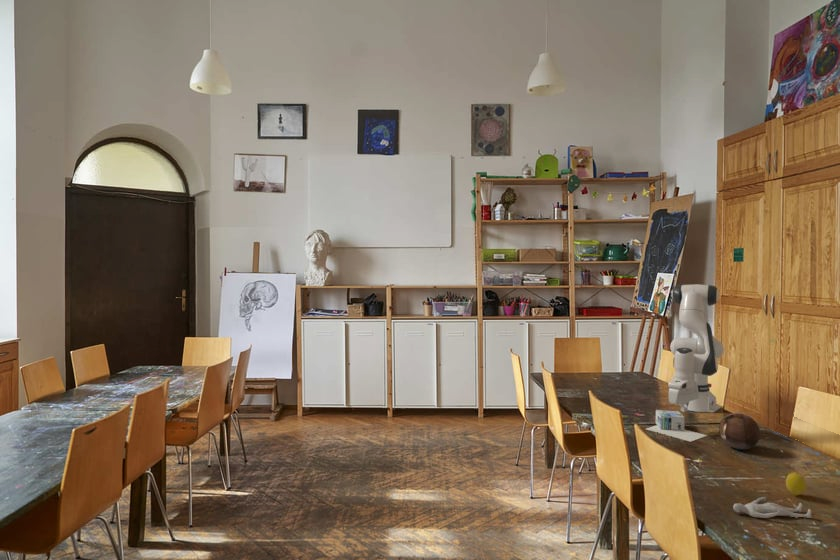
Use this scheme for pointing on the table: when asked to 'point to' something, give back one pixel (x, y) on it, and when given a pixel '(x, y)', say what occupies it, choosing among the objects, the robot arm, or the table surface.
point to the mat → (678, 433)
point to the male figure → (769, 509)
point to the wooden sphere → (739, 431)
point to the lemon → (795, 483)
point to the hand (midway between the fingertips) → (684, 410)
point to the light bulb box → (670, 420)
